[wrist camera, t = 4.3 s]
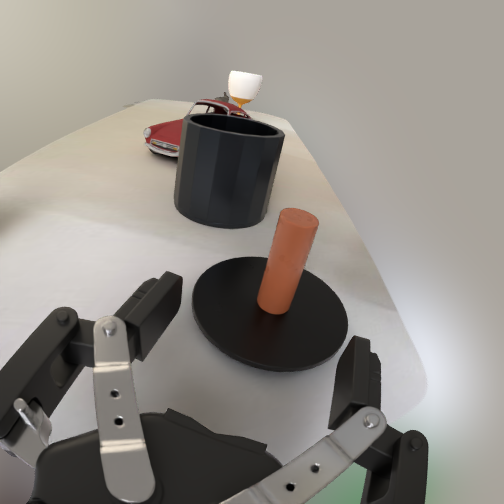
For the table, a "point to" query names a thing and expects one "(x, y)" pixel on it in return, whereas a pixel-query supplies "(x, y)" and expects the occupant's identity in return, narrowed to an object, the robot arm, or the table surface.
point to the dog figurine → (223, 100)
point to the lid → (272, 304)
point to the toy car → (169, 133)
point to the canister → (226, 169)
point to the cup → (244, 86)
